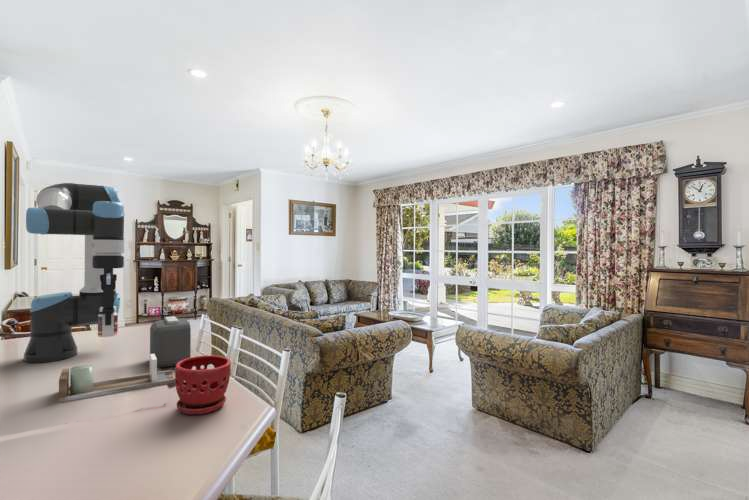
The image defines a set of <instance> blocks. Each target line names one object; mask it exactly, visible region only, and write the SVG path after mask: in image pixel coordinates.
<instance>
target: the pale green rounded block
mask: <svg viewBox="0 0 749 500" xmlns="http://www.w3.org/2000/svg"><path fill="white" fill-rule="evenodd" d="M93 382H94V365H93V364H80V365H75V366H73V367H70V368H69V386H70V395H77V394H83V393H89V392H93Z"/></svg>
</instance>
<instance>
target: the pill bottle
mask: <svg viewBox="0 0 749 500" xmlns="http://www.w3.org/2000/svg"><path fill="white" fill-rule="evenodd" d="M102 310H103V307H100V312H102ZM115 311H116V306H114V312H113V313H114V336H117V335H118V325H119V324H118V321H119V313H118V314H117V313H116V312H115ZM114 336H113V337H114ZM97 337H99V338H103V337H102V314H99V315H98V324H97Z"/></svg>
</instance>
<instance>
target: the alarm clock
mask: <svg viewBox="0 0 749 500" xmlns="http://www.w3.org/2000/svg"><path fill="white" fill-rule="evenodd" d="M191 330H192V329H191V324H190V322H189V321H188V319H186V318H185V317H181V318H177V317H176V316H174V315H172V316H165V317H164V319H158V320H156V321H154V322H153V323H151V325H150V329H149V331H150V332H149V355H150V354H155V356H156V358H157V367H159V368H166V367H167V368H168V367H173V366H174V367H176V364H177V363H178V362H180V361H181V360H184V359H187V358H191V345H192V344H191V337H192V335H191V334H192V333H191Z"/></svg>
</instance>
